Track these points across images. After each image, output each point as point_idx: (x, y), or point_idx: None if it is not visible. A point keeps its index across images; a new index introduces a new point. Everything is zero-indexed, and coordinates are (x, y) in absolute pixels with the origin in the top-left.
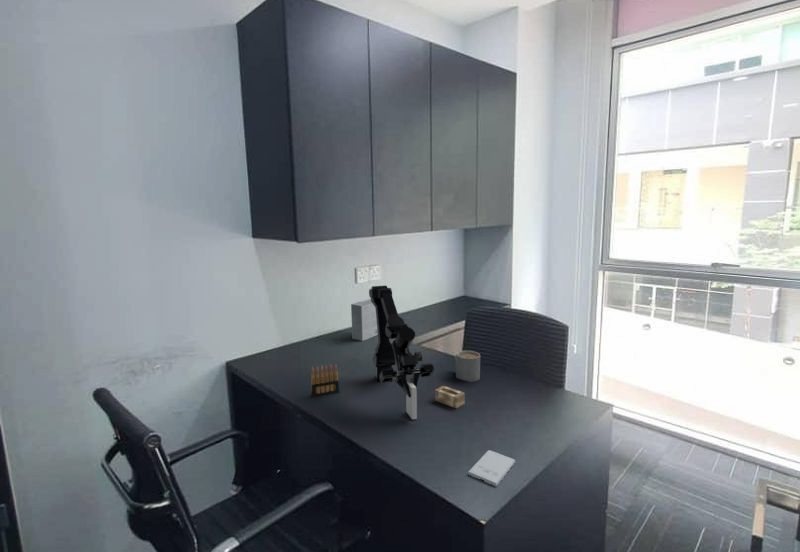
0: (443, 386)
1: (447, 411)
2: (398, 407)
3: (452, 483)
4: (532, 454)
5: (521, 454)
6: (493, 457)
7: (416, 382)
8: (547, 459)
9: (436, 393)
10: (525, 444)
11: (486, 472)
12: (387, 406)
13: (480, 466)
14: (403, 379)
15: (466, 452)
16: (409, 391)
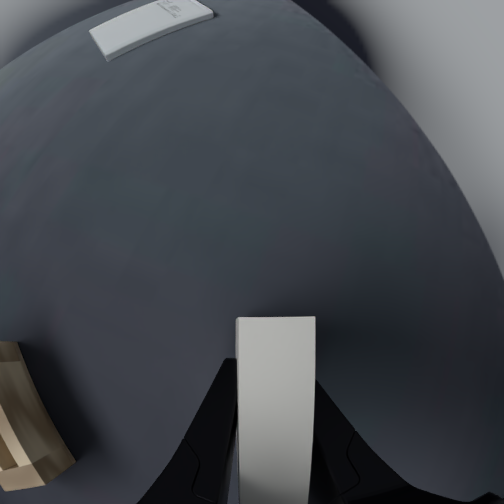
0: (4, 483)
1: (52, 348)
2: None
3: (263, 11)
4: (39, 57)
5: (54, 56)
6: (120, 33)
7: (180, 469)
8: (35, 47)
9: (47, 469)
10: (15, 87)
11: (176, 6)
12: None
13: (174, 16)
14: (402, 501)
15: (158, 67)
16: None
